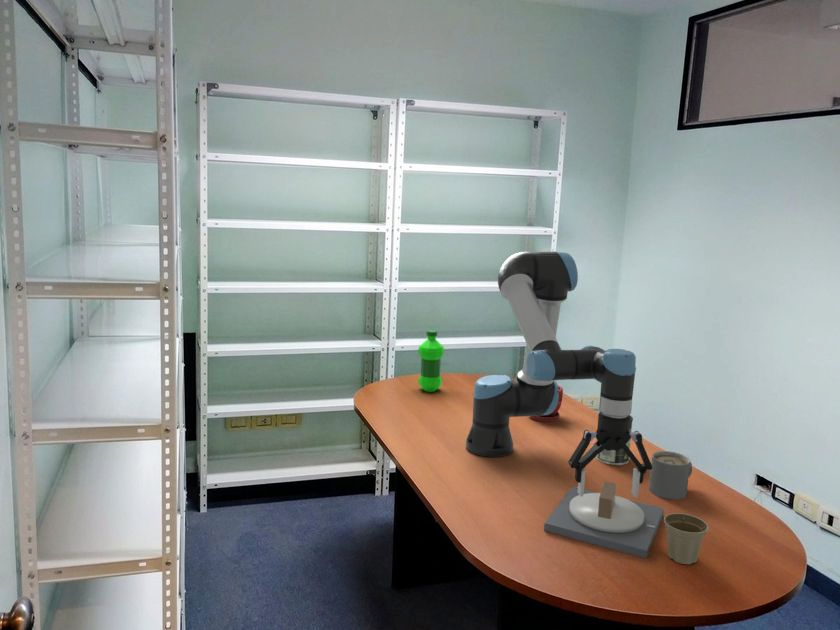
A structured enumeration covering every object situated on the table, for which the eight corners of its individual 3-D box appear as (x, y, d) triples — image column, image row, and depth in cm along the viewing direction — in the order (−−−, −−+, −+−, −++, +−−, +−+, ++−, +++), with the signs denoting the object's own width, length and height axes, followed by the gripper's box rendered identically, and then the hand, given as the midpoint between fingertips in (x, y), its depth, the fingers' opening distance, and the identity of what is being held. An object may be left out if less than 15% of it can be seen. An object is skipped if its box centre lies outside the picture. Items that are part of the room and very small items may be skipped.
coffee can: (627, 454, 209) (631, 412, 207) (630, 467, 199) (634, 423, 197) (593, 451, 211) (597, 409, 209) (595, 463, 201) (599, 419, 199)
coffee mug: (663, 501, 177) (667, 466, 175) (641, 485, 186) (644, 452, 185) (704, 496, 181) (708, 462, 179) (680, 481, 190) (684, 448, 189)
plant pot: (568, 419, 241) (570, 388, 238) (542, 425, 233) (544, 393, 231) (543, 409, 251) (545, 379, 249) (517, 415, 244) (519, 384, 242)
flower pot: (653, 547, 154) (656, 512, 152) (691, 546, 154) (695, 512, 153) (671, 569, 144) (675, 533, 143) (712, 568, 145) (716, 532, 144)
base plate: (543, 530, 160) (544, 521, 159) (571, 493, 180) (572, 485, 180) (646, 558, 148) (647, 549, 148) (663, 515, 169) (663, 507, 169)
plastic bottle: (434, 395, 265) (436, 334, 261) (412, 390, 271) (414, 331, 266) (447, 389, 273) (449, 331, 269) (425, 385, 279) (427, 327, 275)
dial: (641, 539, 152) (643, 513, 151) (563, 523, 159) (565, 498, 158) (645, 506, 169) (648, 483, 168) (575, 493, 175) (576, 470, 174)
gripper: (659, 409, 163) (651, 488, 167) (560, 407, 162) (554, 486, 166) (671, 419, 156) (662, 502, 160) (567, 417, 155) (561, 500, 159)
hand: (607, 494), depth 163 cm, fingers open, 13 cm apart
